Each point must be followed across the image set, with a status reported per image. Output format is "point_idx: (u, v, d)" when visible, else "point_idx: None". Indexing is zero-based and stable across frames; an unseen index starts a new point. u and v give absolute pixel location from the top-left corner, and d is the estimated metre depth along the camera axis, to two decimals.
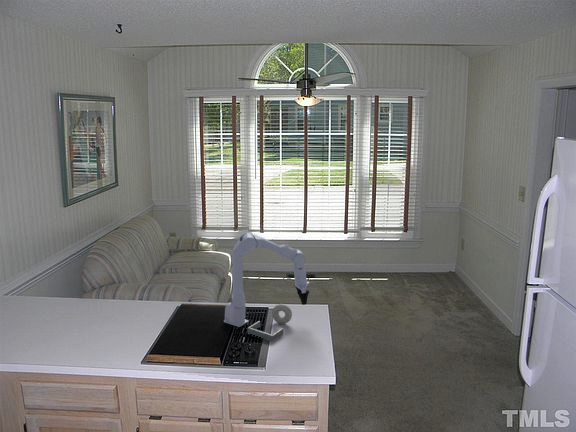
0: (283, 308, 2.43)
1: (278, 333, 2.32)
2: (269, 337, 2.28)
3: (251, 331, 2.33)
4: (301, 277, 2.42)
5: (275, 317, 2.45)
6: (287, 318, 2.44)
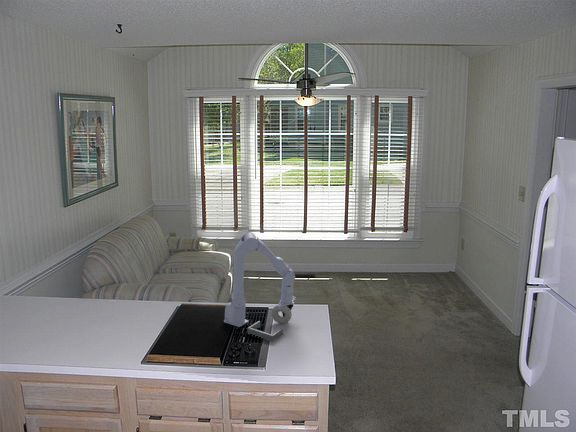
0: (282, 309, 2.42)
1: (278, 333, 2.32)
2: (269, 337, 2.28)
3: (251, 331, 2.33)
4: (284, 294, 2.45)
5: (275, 317, 2.45)
6: (287, 318, 2.44)
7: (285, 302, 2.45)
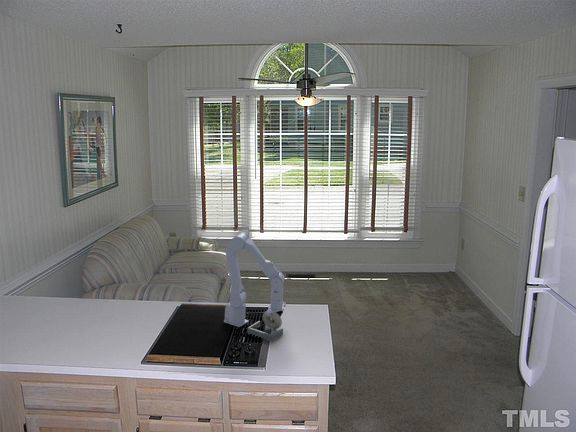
0: (271, 316, 2.35)
1: (278, 333, 2.32)
2: (269, 337, 2.28)
3: (251, 331, 2.33)
4: (273, 300, 2.36)
5: (265, 322, 2.39)
6: (276, 325, 2.36)
7: (275, 308, 2.37)
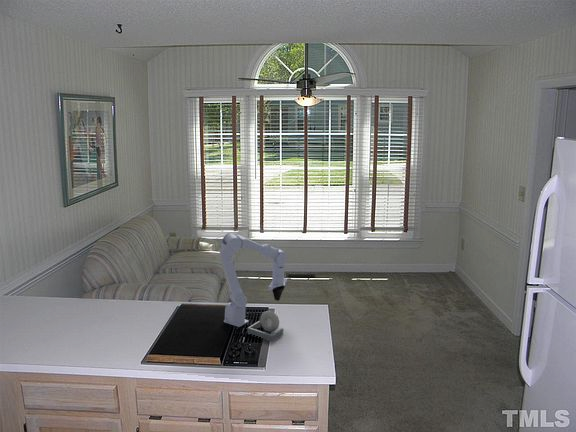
0: (270, 315, 2.35)
1: (278, 333, 2.32)
2: (269, 337, 2.28)
3: (251, 331, 2.33)
4: (275, 275, 2.45)
5: (262, 324, 2.37)
6: (273, 326, 2.35)
7: (276, 283, 2.46)
